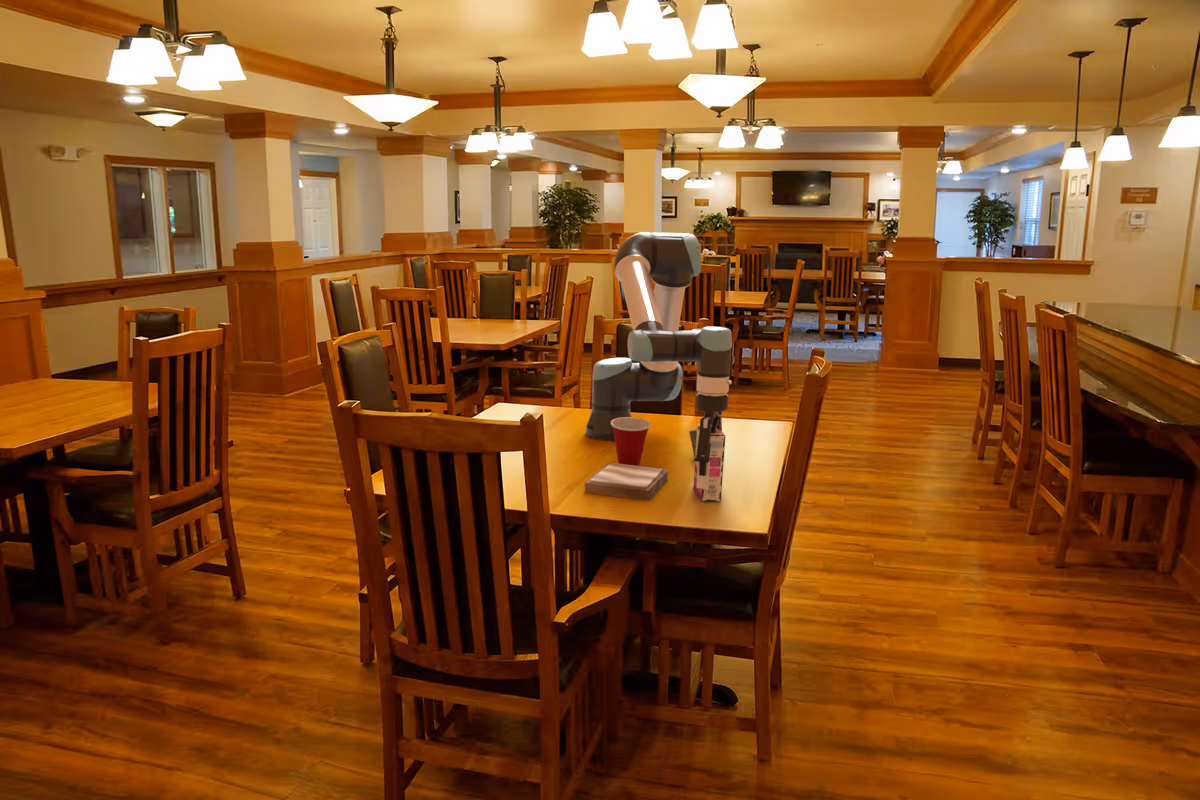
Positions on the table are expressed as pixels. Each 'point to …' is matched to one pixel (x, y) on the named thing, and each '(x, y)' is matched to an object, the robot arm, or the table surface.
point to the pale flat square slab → (627, 481)
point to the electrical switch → (693, 439)
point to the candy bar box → (712, 467)
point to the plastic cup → (630, 439)
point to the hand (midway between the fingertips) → (707, 480)
